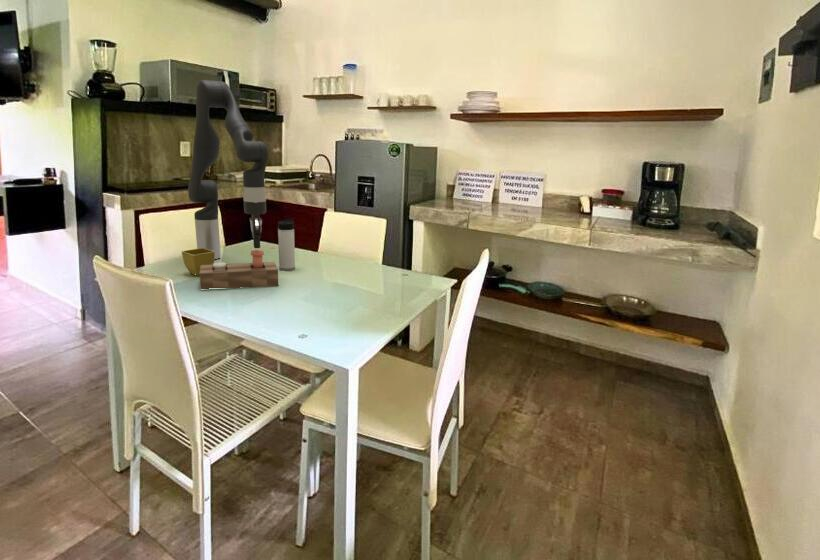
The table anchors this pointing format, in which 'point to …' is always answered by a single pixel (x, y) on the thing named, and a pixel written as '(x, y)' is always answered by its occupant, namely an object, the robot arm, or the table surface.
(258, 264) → the red plug
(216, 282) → the block
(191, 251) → the flower pot
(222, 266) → the grey plug
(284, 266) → the travel mug
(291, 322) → the table surface
